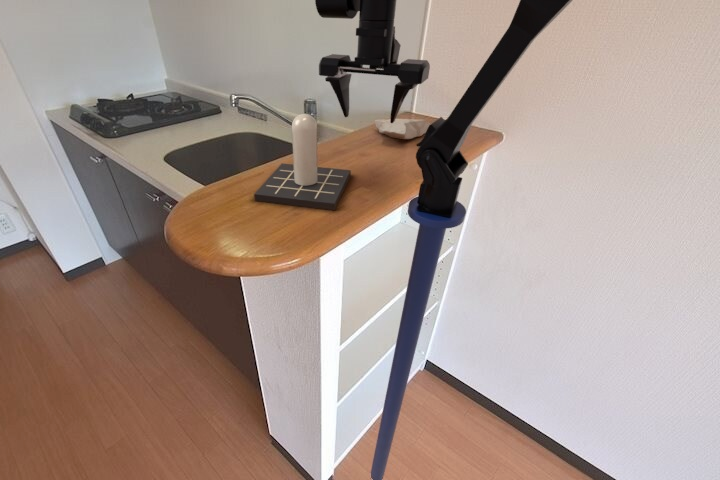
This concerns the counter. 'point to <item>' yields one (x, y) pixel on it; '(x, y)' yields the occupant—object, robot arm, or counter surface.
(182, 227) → the counter surface
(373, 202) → the counter surface
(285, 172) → the game board
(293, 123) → the white rounded cylinder
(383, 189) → the counter surface
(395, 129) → the rock
